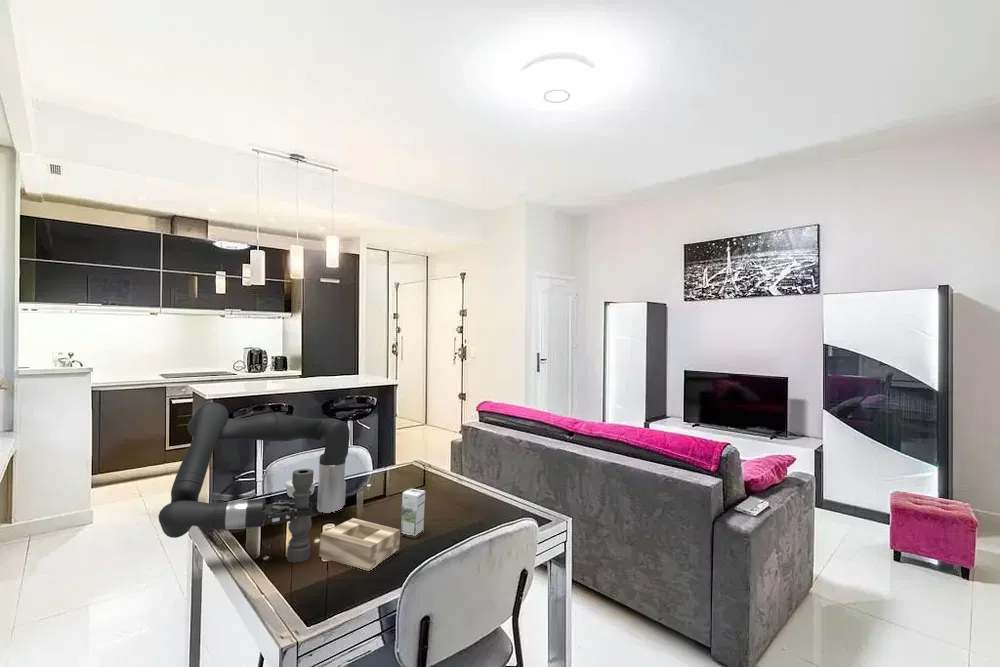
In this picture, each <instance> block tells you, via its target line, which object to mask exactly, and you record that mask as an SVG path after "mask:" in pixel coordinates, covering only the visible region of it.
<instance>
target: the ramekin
mask: <svg viewBox="0 0 1000 667" xmlns="http://www.w3.org/2000/svg"><path fill="white" fill-rule="evenodd" d="M316 484H317V480H316V479H315V478H313V483H312V486H311V487H310V489H309V490H310V491H311V492H312V493H311V496H312V495H313V494H314V491H315V487H316ZM285 487H286V493H287V496H288V497H289V498H291V497H292V498H291V499H295V498H294V497H293V496H292V493H293V492H294V491H295V489H294V487H293V484H292V479H290V480H287V481H286V482H285Z"/></svg>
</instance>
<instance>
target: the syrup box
mask: <svg viewBox="0 0 1000 667" xmlns="http://www.w3.org/2000/svg"><path fill="white" fill-rule="evenodd" d="M401 498H402V502H401V522H400V524H401V525H400V534H401V533H403V534H407V535H413V536H416V535H417V534H418V533H420V532H421V531H422V530H423V531H424V520H425V502H426V490H422V489H418V488H417V489H416V488H408V489H407V490H405V491H403V492H402V497H401Z"/></svg>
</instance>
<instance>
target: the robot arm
mask: <svg viewBox="0 0 1000 667" xmlns="http://www.w3.org/2000/svg"><path fill="white" fill-rule="evenodd" d="M187 432H188V433H189V435H191V436H192V437H193V438H192V439H191V443H190V445H189V447H188V449H187V452H186V453H185V456H184V457H183V460H182V461H181V463H180V465H179V468H178V470H177V473H176V475H175V478H174V481H173V484H172V487H171V491H170V497H171V498H170V499H171V500H170V503H168V504H165V506H163V507H162V509H161V510H160V511H159V513H158V522H159V524H160V527H161V529H162V532H163V533H164V534H165V535H166V536H167V537H168V538H173V539H175V538H180V537H182V536H185V535H186V534H187V533H188V532H190V530H191V529H192V527H200V528H202V529H203V530H205V531H217V530H239V529H251V528H262V527H263V526H264V524H265V521H270V522H271V525H279V524H283V523H288V522H289V523H290V521H294V518H297V516H298V517H301V516H310V517H311V516H312V513H313V512H312V511H313V510H312V506H313V503H312V502H311V501H310V502H309V504H308V507H307V508H298V509H297V508H294V501H295V499H275V501H274V502H272V503H269V504H266V498H254V499H253V498H252V499H238V500H233V501H225V502H224V501H223V502H222V501H221V502H211V503H210V502H205V501H199V496H200V494H201V491H202V488H203V484H204V482H205V478H206V474H207V471H208V468H209V465H210V461H211V459H212V455H213V452H214V449H215V446H216V445H217V444H216V443H217V441H223V440H246V441H247V440H248V441H266V442H290V441H296V440H300V439H302V440H306V439H307V440H315V441H319V442H323V443H324V452H323V453H322V454H320V456H319V462H318V463H319V465H318V484H317V497H316V498H317V500H316V510H318V511H317V512H318V513H322V512H323V514H330V513H331V512H333V513H336V512H335V511H338V510H340V509H342V508H344V507H343V506H344V505H345V506H346V489H347V481H346V479H345V478H346V477H345V474H346V461H347V460H346V459H347V456H348V454H349V448H350V447H349V446H350V439H351V438H350V434H351V432H350V426H349V425H348V424H347V423H346V422H345V421H342V420H340V419H337V418H331V417H330V418H327V417H326V418H307V417H305V418H304V417H302V416H296V415H290V414H282V413H260V414H256V415H252V416H248V417H241V418H229V411H228V409H227V408H226V407H225V406H224V405H223V404H221V403H218V402H207V403H204V404H203V405H201V406H200V407H199V408H198V409H197V410H196V412H194V414H193V415H192V417H191V419H189V421H188V424H187ZM342 510H343V509H342ZM340 511H341V510H340ZM338 512H339V511H338ZM331 514H332V513H331Z"/></svg>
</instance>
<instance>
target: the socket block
mask: <svg viewBox="0 0 1000 667" xmlns="http://www.w3.org/2000/svg"><path fill="white" fill-rule="evenodd" d="M319 536H320V538H319V554H318V555H319V556H318V557H321V558H320V559H322V558H324V559H323V560H325V559H327V560H326V561H329V560H332V561H336V562H339V563H342V564H346V565H350V566H354V567H357V568H360V569H363V570H366V571H370V570H372V569H373V568H375V567H376V566H377V565H378V564H379V563H381V562H382V561H383V560H385V559H386V558H388V557H389V556H390V555H392V554H393V553H395V552H396V551H398V550H399V551H400V540H401V538H400V537H401V529H398V528H394V527H391V526H386V525H381V524H379V523H374V522H371V521H366V520H362V519H358V518H354V517H352V518H351V519H348V520H346V521H344V522H342V523H340V524H338V525H335V526H334V527H333V526H332V528H329V529H328V530H326V531H323V532H321V533H320V534H319ZM332 561H331V562H332ZM339 563H338V564H339ZM342 564H341V565H342ZM375 569H376V568H375ZM372 571H373V570H372Z"/></svg>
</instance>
